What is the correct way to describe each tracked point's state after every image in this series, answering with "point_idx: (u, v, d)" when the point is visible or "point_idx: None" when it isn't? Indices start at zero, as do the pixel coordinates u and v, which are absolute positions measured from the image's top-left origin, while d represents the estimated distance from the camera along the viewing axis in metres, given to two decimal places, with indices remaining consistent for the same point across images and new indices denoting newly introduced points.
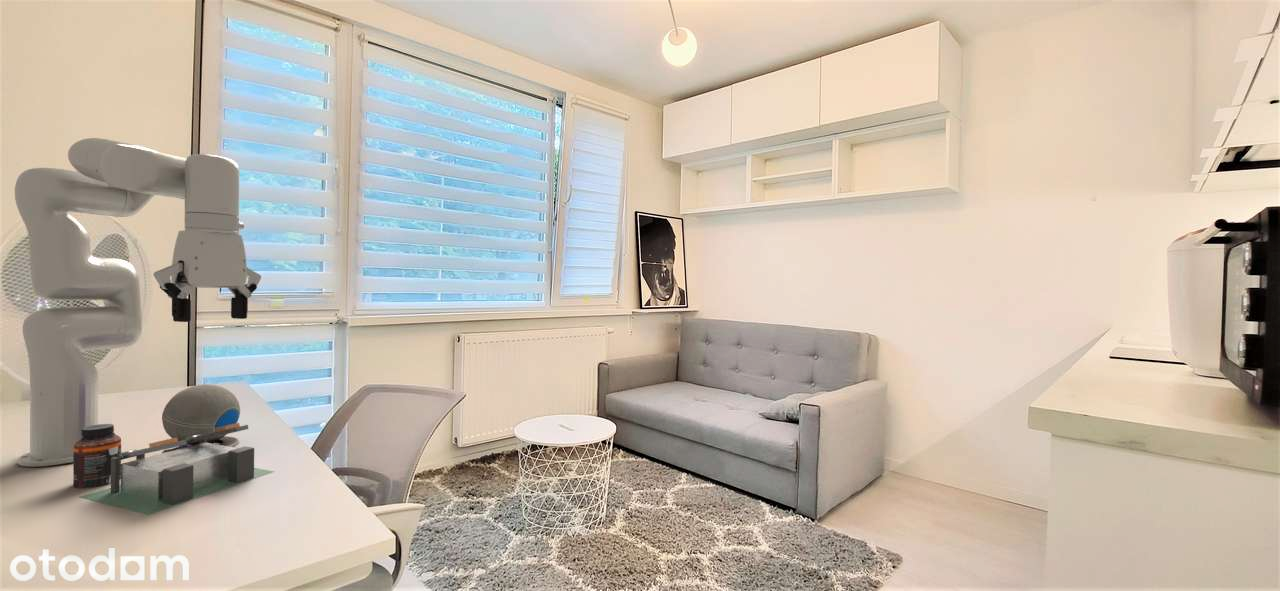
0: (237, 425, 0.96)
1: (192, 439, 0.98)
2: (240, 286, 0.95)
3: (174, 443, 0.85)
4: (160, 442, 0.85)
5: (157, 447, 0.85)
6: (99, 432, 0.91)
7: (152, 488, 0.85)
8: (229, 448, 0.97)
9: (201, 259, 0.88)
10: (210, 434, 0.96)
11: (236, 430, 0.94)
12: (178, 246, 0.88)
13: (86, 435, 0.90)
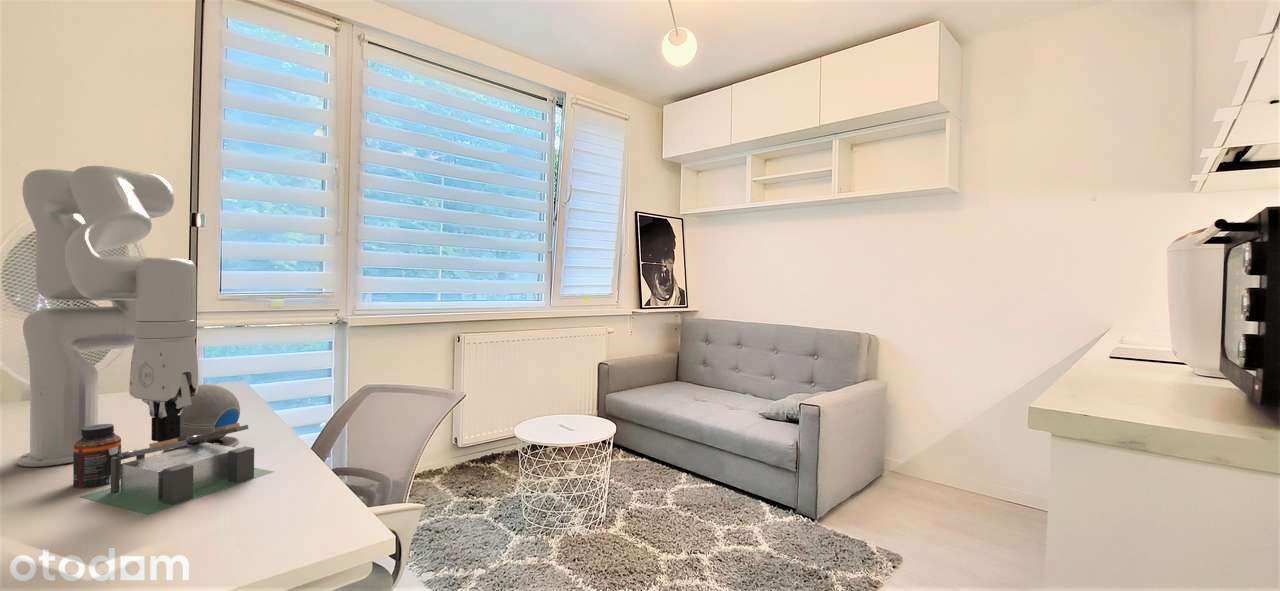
0: (237, 425, 0.96)
1: (192, 439, 0.98)
2: None
3: (174, 444, 0.85)
4: (160, 443, 0.85)
5: (157, 447, 0.85)
6: (99, 432, 0.91)
7: (152, 488, 0.85)
8: (229, 448, 0.97)
9: None
10: (210, 434, 0.96)
11: (236, 430, 0.94)
12: (180, 358, 0.84)
13: (86, 435, 0.90)
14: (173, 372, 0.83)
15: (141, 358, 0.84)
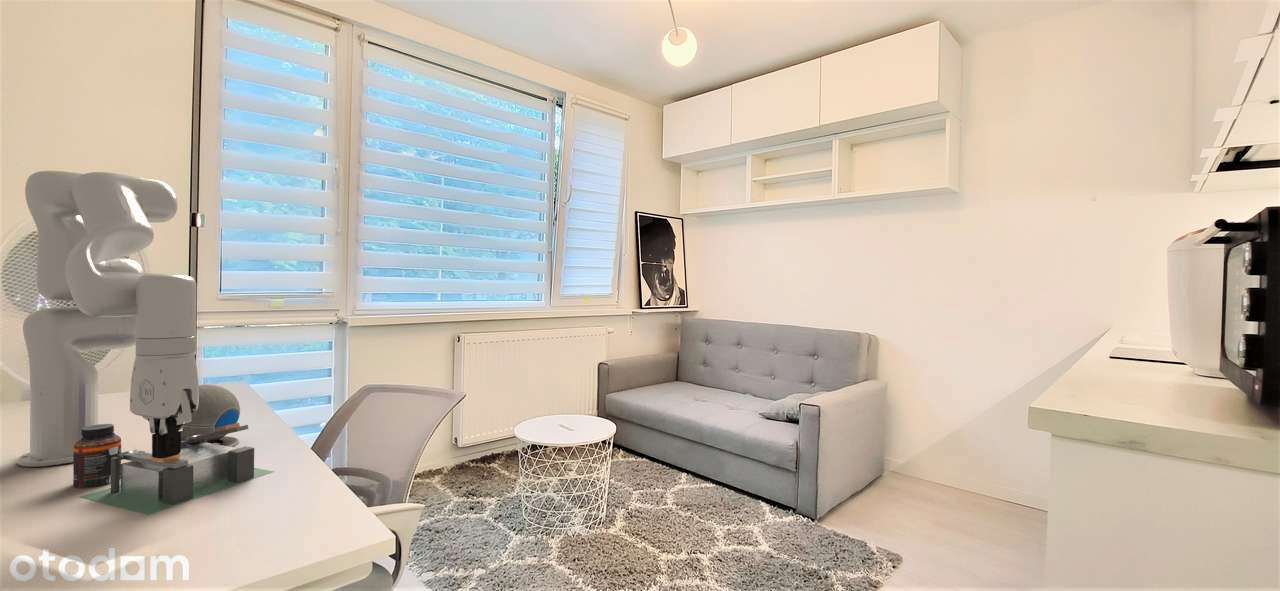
0: (237, 425, 0.96)
1: (192, 439, 0.98)
2: None
3: (176, 464, 0.84)
4: (162, 459, 0.85)
5: (158, 462, 0.85)
6: (99, 432, 0.91)
7: (152, 488, 0.85)
8: (229, 448, 0.97)
9: None
10: (210, 434, 0.96)
11: (236, 430, 0.94)
12: (180, 374, 0.84)
13: (86, 435, 0.90)
14: (173, 389, 0.83)
15: (141, 375, 0.84)
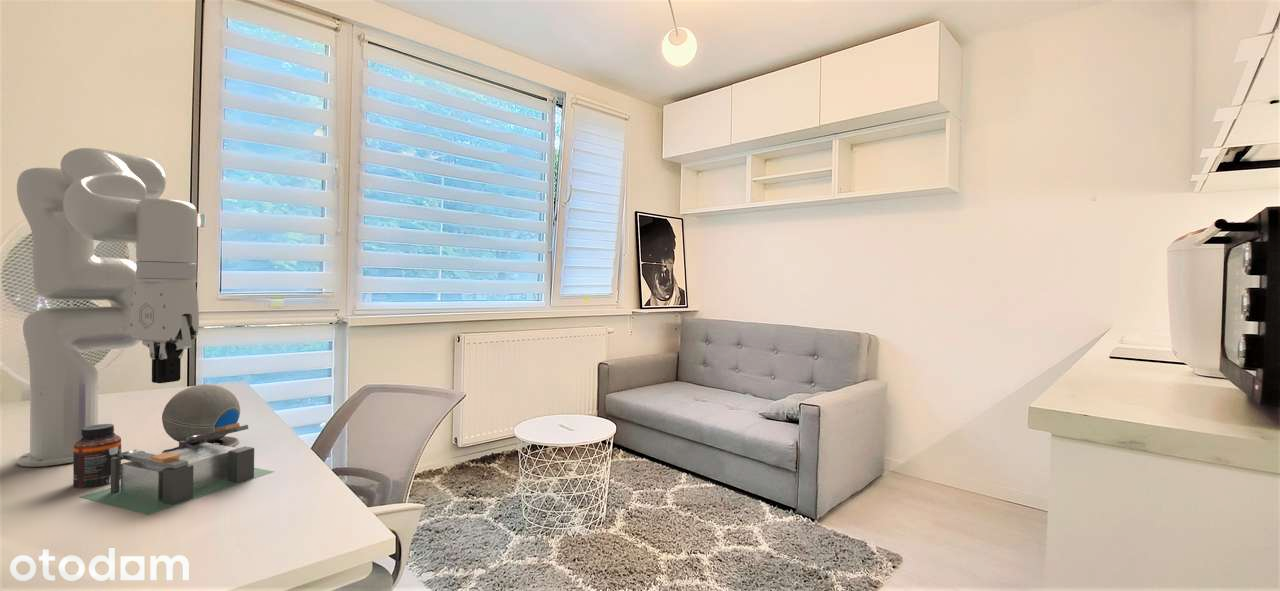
0: (237, 425, 0.96)
1: (192, 439, 0.98)
2: None
3: (176, 465, 0.84)
4: (162, 460, 0.85)
5: (158, 463, 0.85)
6: (99, 432, 0.91)
7: (152, 488, 0.85)
8: (229, 448, 0.97)
9: None
10: (210, 434, 0.96)
11: (236, 430, 0.94)
12: (180, 299, 0.84)
13: (86, 435, 0.90)
14: (173, 312, 0.83)
15: (141, 299, 0.84)
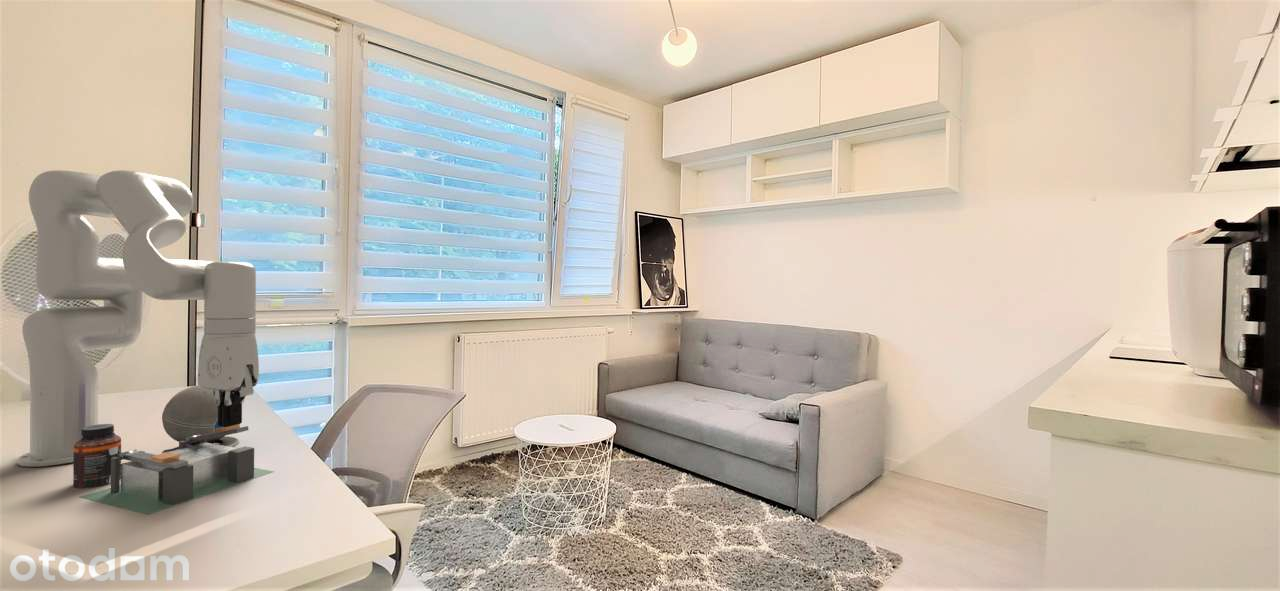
0: (237, 426, 0.96)
1: (192, 439, 0.98)
2: None
3: (176, 465, 0.84)
4: (162, 460, 0.85)
5: (158, 463, 0.85)
6: (99, 432, 0.91)
7: (152, 488, 0.85)
8: (229, 448, 0.97)
9: None
10: (210, 435, 0.96)
11: (236, 431, 0.94)
12: (244, 351, 0.93)
13: (86, 435, 0.90)
14: (238, 364, 0.92)
15: (209, 352, 0.93)
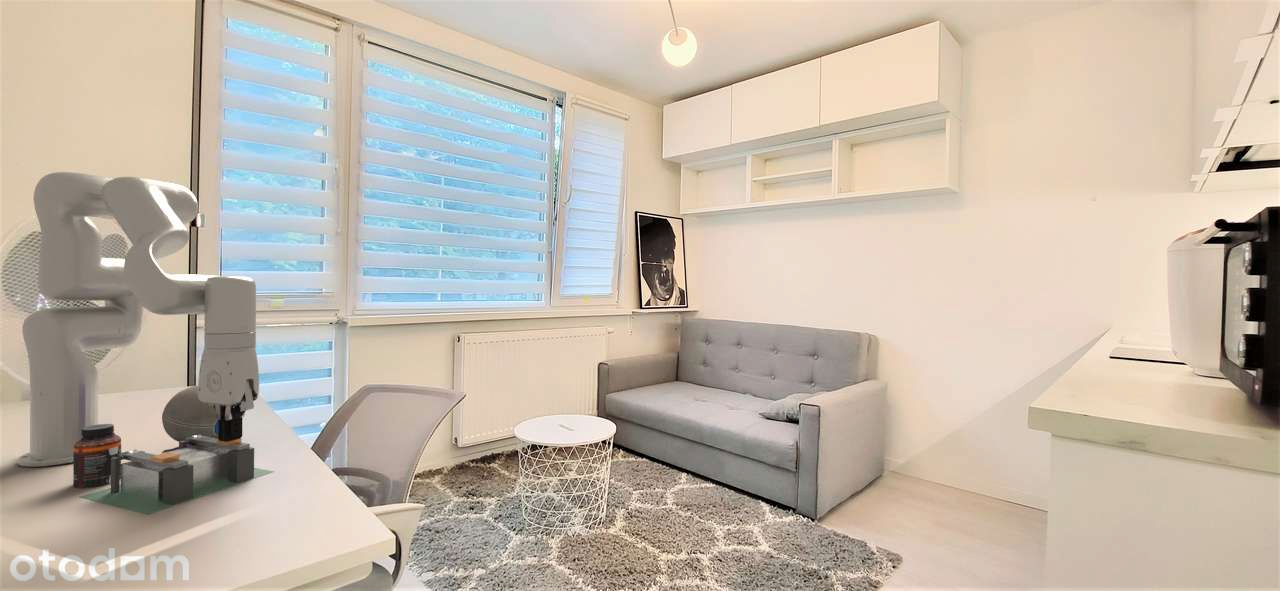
0: (239, 441, 0.96)
1: (192, 441, 0.98)
2: None
3: (176, 465, 0.84)
4: (162, 460, 0.85)
5: (158, 463, 0.85)
6: (99, 432, 0.91)
7: (152, 488, 0.85)
8: None
9: None
10: (211, 443, 0.96)
11: (237, 449, 0.94)
12: (244, 366, 0.93)
13: (86, 435, 0.90)
14: (239, 379, 0.92)
15: (209, 366, 0.93)
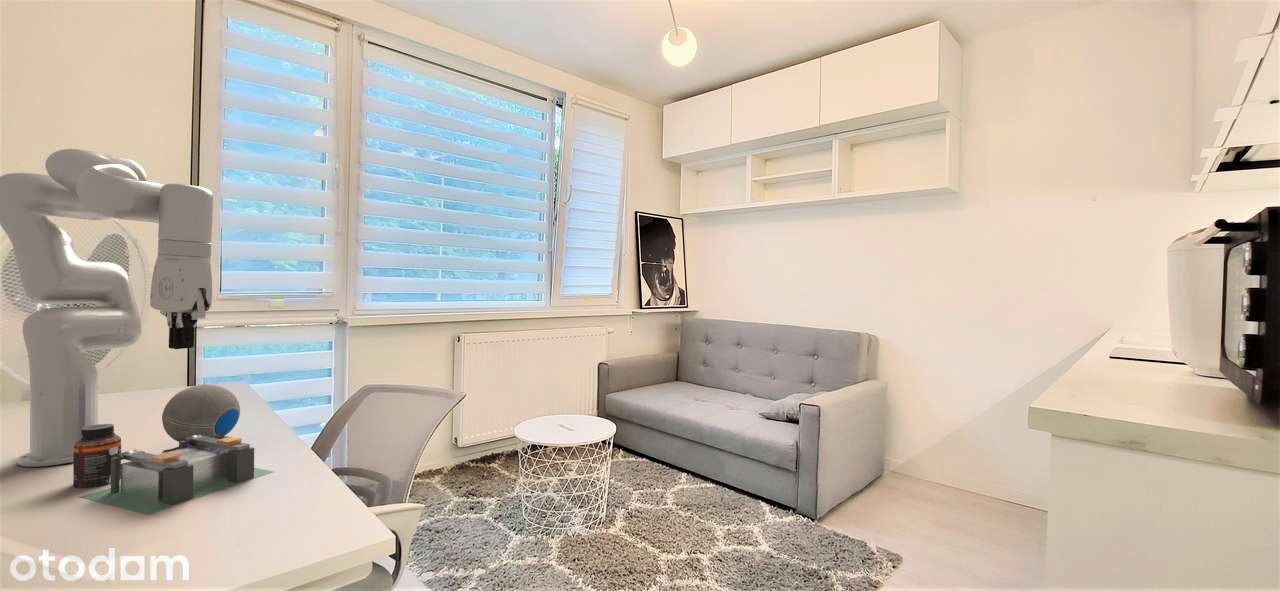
0: (239, 441, 0.96)
1: (192, 441, 0.98)
2: None
3: (176, 465, 0.84)
4: (162, 460, 0.85)
5: (158, 463, 0.85)
6: (99, 432, 0.91)
7: (152, 488, 0.85)
8: None
9: None
10: (211, 443, 0.96)
11: (237, 450, 0.94)
12: (197, 274, 0.94)
13: (86, 435, 0.90)
14: (190, 286, 0.93)
15: (162, 273, 0.94)
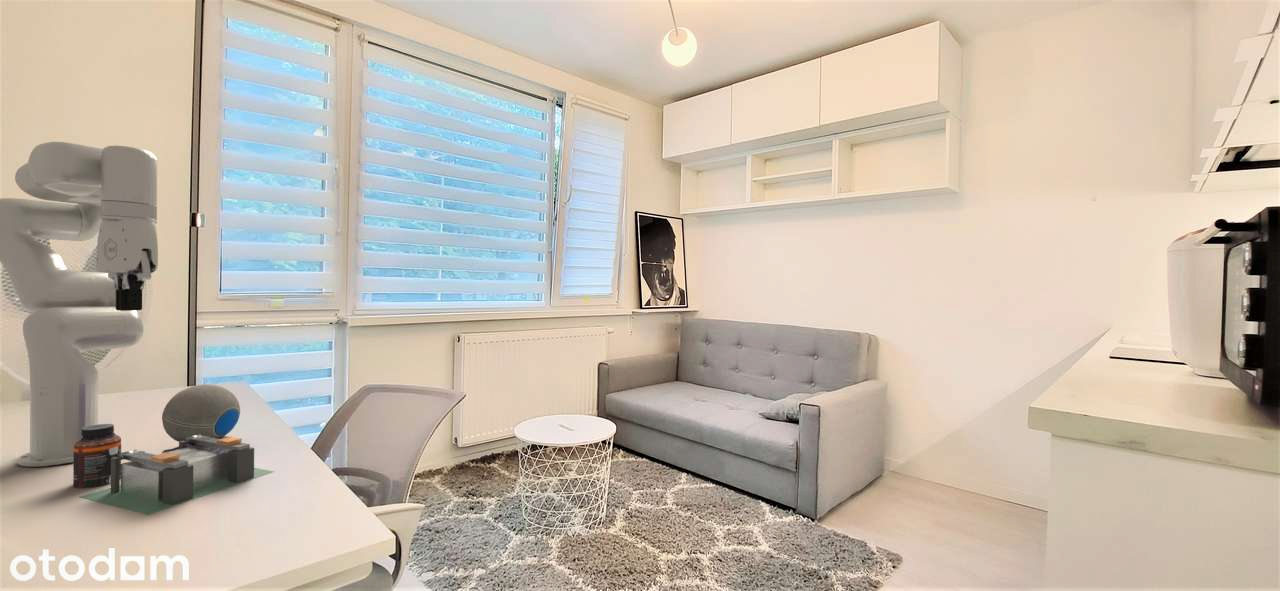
0: (239, 441, 0.96)
1: (192, 441, 0.98)
2: None
3: (176, 465, 0.84)
4: (162, 460, 0.85)
5: (158, 463, 0.85)
6: (99, 432, 0.91)
7: (152, 488, 0.85)
8: None
9: None
10: (211, 443, 0.96)
11: (237, 450, 0.94)
12: (140, 235, 0.94)
13: (86, 435, 0.90)
14: (134, 246, 0.93)
15: (106, 235, 0.94)
